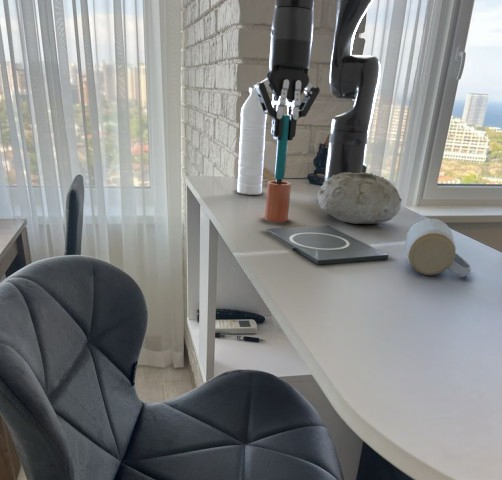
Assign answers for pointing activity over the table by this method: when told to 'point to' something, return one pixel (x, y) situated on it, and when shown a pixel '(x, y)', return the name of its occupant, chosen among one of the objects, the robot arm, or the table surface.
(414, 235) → the ceramic mug
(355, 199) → the grey rounded lump
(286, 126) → the marker
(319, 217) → the table surface
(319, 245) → the slate board
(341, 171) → the robot arm
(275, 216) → the pen cup
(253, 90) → the water bottle
